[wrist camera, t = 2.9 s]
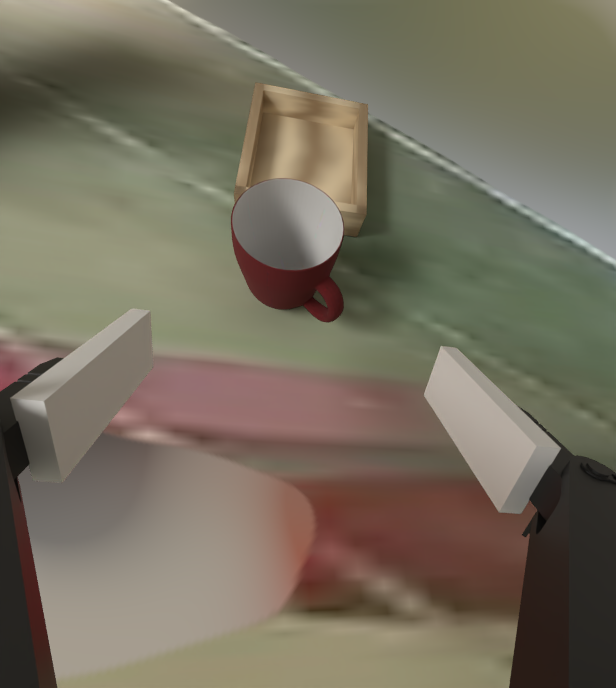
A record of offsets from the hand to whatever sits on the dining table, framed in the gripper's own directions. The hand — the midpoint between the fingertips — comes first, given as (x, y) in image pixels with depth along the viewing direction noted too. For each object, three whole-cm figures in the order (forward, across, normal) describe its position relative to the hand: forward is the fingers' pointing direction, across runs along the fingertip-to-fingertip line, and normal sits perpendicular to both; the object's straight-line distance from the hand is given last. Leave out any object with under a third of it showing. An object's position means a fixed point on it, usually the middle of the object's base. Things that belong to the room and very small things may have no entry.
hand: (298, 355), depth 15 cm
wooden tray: (+29, 0, +9) cm, 31 cm away
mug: (+18, 0, -3) cm, 18 cm away
